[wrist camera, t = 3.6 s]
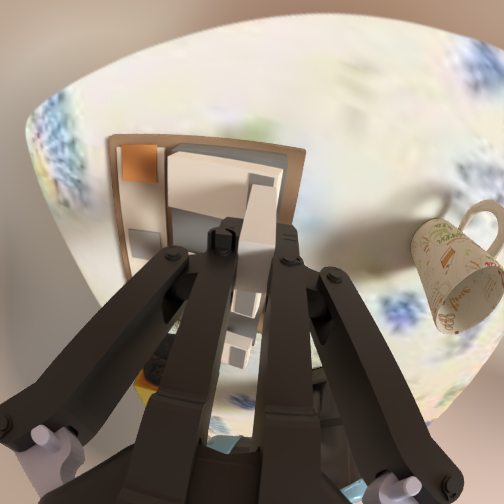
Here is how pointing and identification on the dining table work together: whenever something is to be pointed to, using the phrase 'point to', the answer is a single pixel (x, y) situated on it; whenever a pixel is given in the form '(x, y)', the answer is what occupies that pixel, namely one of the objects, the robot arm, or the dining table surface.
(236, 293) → the rocker middle
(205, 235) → the switch board
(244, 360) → the block
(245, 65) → the dining table surface
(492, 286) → the mug
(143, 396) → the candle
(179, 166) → the block
